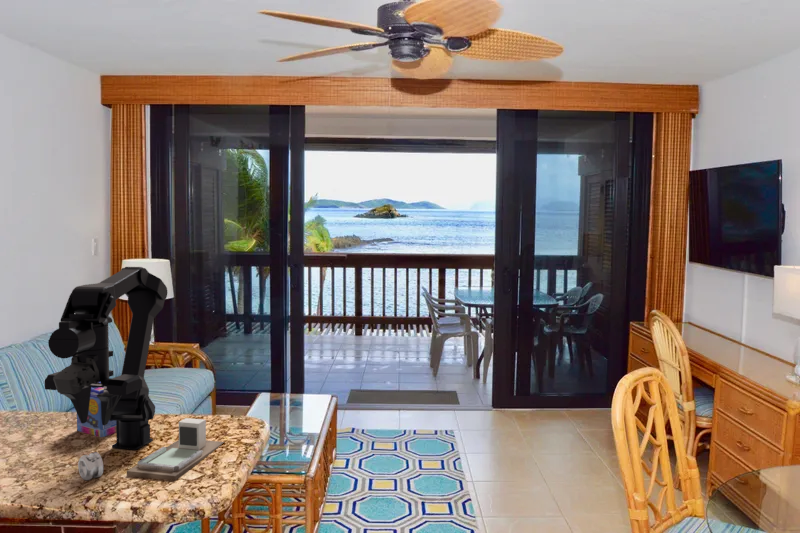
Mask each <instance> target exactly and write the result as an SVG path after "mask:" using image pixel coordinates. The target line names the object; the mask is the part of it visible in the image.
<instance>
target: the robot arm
mask: <svg viewBox="0 0 800 533" xmlns="http://www.w3.org/2000/svg"><path fill="white" fill-rule="evenodd" d="M124 295H125V296H126V297H127V305H128V307H129V309H130V311H131V314H132V317H131V322H130V325H129V333H128V336H127V342H126V348H125V354H124V359H123V365H122V370H121V374H120V375H117V376H116V377H113V378H111V377H112V376H114V370H110V357H113V356H114V350H110V348H109V342H110V341H109V324H111V323H113V319H112V317H110V314H111V312H112V311H113V310H114V308H116V307H117V300H118V299H119V298H121V297H122V296H124ZM167 297H168V287H167V285H166V284H165V282H164V281H163V280H162V279H161V278H159V277H158V276H157V275H154V274H153V273H150V272H149V271H148V269H147V268H145V267H142V266H125V267H122V268H121V269H120V271H118V272H116V273H114V274H113V275H111V276H109V277H107V278H106V279H103V280H101V281H100V282H97V283H89V284H82V285H77V286H75V287H74V288H73V289H72V290H71V293H70V294H69V296H68V299H67V302H66V303H65V308H64V310H63V313H62V315H61V317H60V320H59V322H58V328H57V329H55V330H54V331H53V332H52V333H51V335H50V336H49V339H48V341H47V342H48V348H49V351H50V352H51V353H52V354H53V355H54V356H55V357H57V358H60V359H68V358H71V362H70V365H68V366H66V367H65V368H63V369H62V370H60V371H56V372H53V373H50V374H48V375H47V376H46V377H45V379H44V390H46V391H47V390H50V391H57V393H59V394H60V395H63V396H65V397H67V398H68V399H69V400H70V401H71V403H72V405H73V407H74V410H75V412H76V415H77V414H78V417H79V419H80V421H81V423H86V422H87V418H88V412H89V403H90V394H91V387H103V388H104V393H101V394H98V395H96V396H97V397H98V398H99V399H100V401H101V420H102V425H106V424H108V422H109V420H110V421H116V433H115V434H116V436H115V437H116V443H113V444H112V445H111V448H112V449H121V450H123V449H124V450H134V451H135V450H136V451H137V450H138V449H141V448H143V447H144V446H147V444H150V443H151V442H153V441H154V439H153V438H151V424H150V423H149V420H153V419H154V418H155V417H154V416H155V414H156V405H155V404H154V402H153V400H151V397H150V395H149V393H150V388H149V386H148V384H147V382H146V379H145V372H146V366H147V360H148V354H149V350H150V348H149V347H150V345H151V344H150V343H151V336H152V331H153V326H154V321H155V317H156V316H157V315H159V313H160V312H161V311H162V310H163V308H164V305H165V301H166V299H167ZM97 382H101V383H97Z"/></svg>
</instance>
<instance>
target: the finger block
mask: <svg viewBox="0 0 800 533" xmlns="http://www.w3.org/2000/svg"><path fill="white" fill-rule="evenodd" d="M206 420H207V419H202V418H201V419H200V418H190V417H185V418H183V419H182V420H180V421H178V440H179V448H183V449H193V450H200V449H201V448H203V447H204V446H206V440H207V421H206Z"/></svg>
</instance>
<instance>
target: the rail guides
mask: <svg viewBox="0 0 800 533" xmlns="http://www.w3.org/2000/svg"><path fill="white" fill-rule="evenodd" d="M166 447H167V446H162V447H160V448H159V449H157V450H155V451H154V452H153V451H152V452H151V453H150V454H148V455H146V457H144V458H141V459H140V460H139V461H137V465H138V467H139V468H141V469H150V470H160V471H170V472H174V471H180V470H181V469H183V468H184V467H186V466H187V465H189V464H190V463H191V462H193V461H194V460H196V459H197V458H199V457H200V456H202V450H199V451H197V452H196V453H194V454H193V455H191V456H190V457H188V458H187V459H185V460H184V461H182V462H181V463H179V464H178V465H176V466H175V465H165V464H155V463H148V462H150V461H152V460H153V459H155V458H157V457H158V456H160V455H162V454H163V453H165V452H166Z"/></svg>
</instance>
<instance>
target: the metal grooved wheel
mask: <svg viewBox="0 0 800 533" xmlns="http://www.w3.org/2000/svg"><path fill="white" fill-rule="evenodd" d="M77 466H78V473H79V475H80V478H82V480H83V481H90V480H92V478H94V479H96V478H97V479H98V478H100V477H102V476H103V473H104V462H103V458H102V456H101V454H100V453H99V452H97V451H95V452H91V453H89V454H84V455H82V456H80V458H79V459H78V465H77Z"/></svg>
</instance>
